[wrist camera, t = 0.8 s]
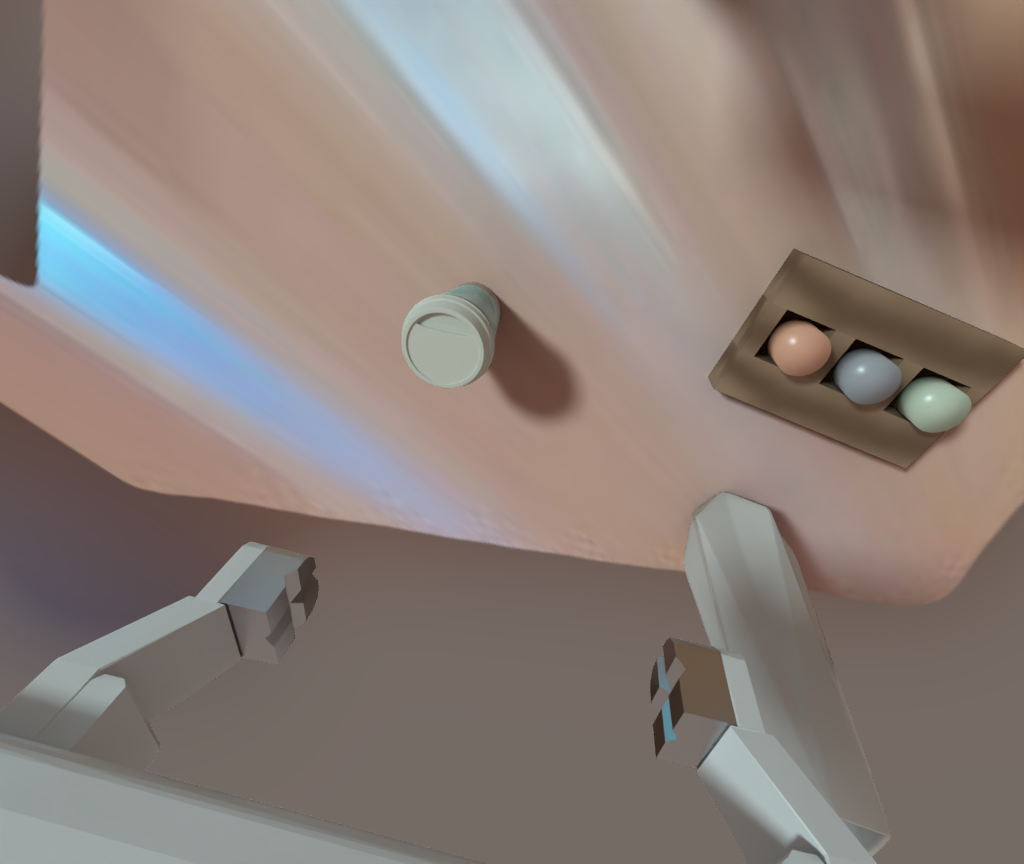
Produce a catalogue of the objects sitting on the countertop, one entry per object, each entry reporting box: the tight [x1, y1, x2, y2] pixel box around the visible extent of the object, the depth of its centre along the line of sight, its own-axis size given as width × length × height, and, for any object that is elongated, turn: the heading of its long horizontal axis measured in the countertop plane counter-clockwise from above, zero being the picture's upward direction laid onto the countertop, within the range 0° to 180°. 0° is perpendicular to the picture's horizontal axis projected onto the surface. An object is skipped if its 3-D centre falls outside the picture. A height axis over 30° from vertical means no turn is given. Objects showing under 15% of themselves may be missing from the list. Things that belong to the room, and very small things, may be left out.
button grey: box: [832, 348, 902, 405], centre depth 44 cm, size 4×4×3 cm
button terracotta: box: [767, 319, 831, 376], centre depth 44 cm, size 4×4×3 cm
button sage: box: [896, 376, 972, 433], centre depth 44 cm, size 4×4×3 cm
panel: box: [708, 249, 1024, 468], centre depth 46 cm, size 14×22×3 cm, turn 70°
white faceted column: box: [683, 492, 891, 857], centre depth 45 cm, size 12×12×33 cm
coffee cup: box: [402, 283, 501, 388], centre depth 46 cm, size 9×8×12 cm
